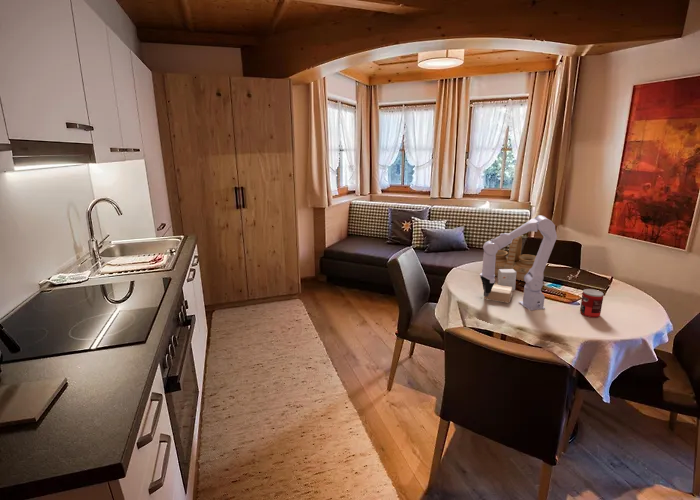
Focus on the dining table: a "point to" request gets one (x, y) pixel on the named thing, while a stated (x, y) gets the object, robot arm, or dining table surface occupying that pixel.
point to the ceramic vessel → (514, 259)
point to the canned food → (591, 303)
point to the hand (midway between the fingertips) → (486, 291)
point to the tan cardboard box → (497, 296)
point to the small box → (507, 278)
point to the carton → (502, 289)
